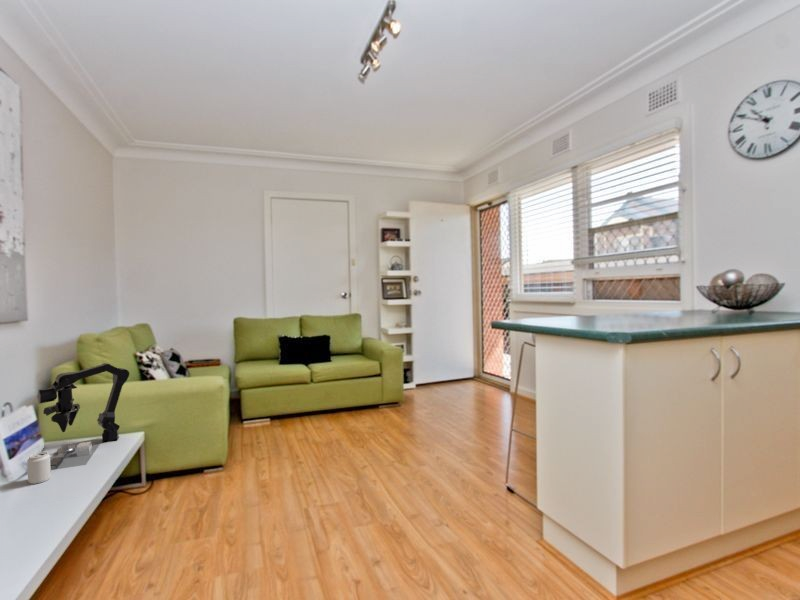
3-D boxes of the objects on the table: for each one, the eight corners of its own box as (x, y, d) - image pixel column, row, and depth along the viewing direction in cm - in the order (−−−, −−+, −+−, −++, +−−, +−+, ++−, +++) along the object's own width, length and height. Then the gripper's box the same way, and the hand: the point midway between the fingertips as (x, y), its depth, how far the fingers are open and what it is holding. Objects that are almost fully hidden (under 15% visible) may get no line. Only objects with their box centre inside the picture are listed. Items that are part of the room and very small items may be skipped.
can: (55, 477, 183) (54, 451, 182) (39, 485, 175) (38, 458, 175) (40, 476, 184) (39, 450, 183) (23, 484, 176) (22, 457, 175)
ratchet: (77, 448, 213) (76, 439, 212) (60, 468, 190) (60, 458, 190) (60, 450, 210) (59, 442, 210) (41, 471, 188) (41, 461, 187)
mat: (100, 443, 220) (100, 442, 220) (85, 465, 194) (85, 464, 194) (58, 449, 212) (58, 448, 212) (37, 472, 187) (37, 471, 187)
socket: (92, 450, 210) (91, 441, 209) (89, 454, 205) (88, 445, 205) (80, 452, 208) (79, 442, 207) (76, 456, 203) (76, 446, 203)
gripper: (53, 395, 213) (55, 424, 214) (36, 406, 196) (39, 438, 197) (79, 392, 217) (81, 421, 218) (65, 403, 200) (67, 434, 201)
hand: (67, 428), depth 208 cm, fingers open, 9 cm apart
